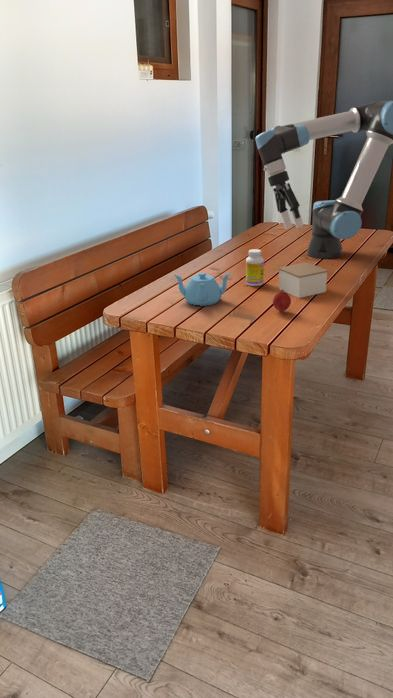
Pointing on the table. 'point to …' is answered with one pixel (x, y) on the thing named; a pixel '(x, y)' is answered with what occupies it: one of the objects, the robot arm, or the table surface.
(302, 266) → the riser block
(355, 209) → the robot arm
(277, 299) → the onion
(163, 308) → the table surface
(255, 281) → the supplement bottle
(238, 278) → the table surface
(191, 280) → the teapot
